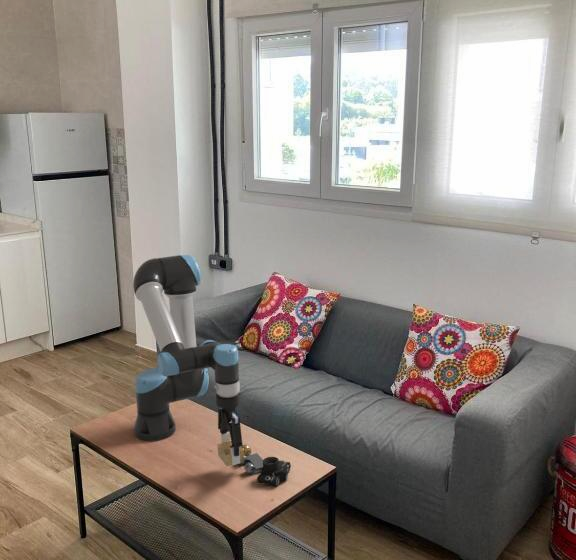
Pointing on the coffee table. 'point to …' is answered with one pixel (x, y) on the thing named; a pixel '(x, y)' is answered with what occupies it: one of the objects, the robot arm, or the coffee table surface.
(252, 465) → the steel hinge leaf
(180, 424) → the coffee table surface
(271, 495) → the coffee table surface
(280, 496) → the coffee table surface
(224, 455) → the gold knuckled block
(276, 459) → the film camera
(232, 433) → the robot arm
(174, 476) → the coffee table surface
